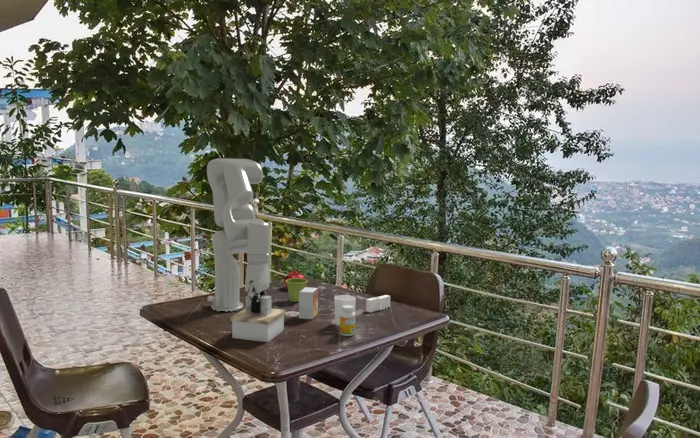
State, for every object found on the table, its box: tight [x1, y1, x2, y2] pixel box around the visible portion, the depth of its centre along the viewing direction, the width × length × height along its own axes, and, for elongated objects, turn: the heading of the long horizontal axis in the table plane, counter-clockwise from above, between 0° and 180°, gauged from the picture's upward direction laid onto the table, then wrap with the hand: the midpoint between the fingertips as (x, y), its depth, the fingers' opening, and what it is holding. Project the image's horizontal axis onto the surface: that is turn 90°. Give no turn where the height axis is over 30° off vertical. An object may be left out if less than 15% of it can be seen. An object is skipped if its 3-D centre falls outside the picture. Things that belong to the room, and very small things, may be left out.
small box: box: [298, 286, 319, 320], centre depth 197 cm, size 8×6×10 cm
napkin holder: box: [365, 294, 391, 313], centre depth 208 cm, size 15×11×6 cm
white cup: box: [333, 294, 357, 327], centre depth 188 cm, size 8×8×10 cm
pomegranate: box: [283, 268, 306, 289], centre depth 241 cm, size 10×10×9 cm
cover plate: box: [229, 294, 287, 325], centre depth 175 cm, size 14×14×7 cm
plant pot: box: [286, 278, 309, 303], centre depth 219 cm, size 9×9×9 cm
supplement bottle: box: [339, 305, 357, 337], centre depth 177 cm, size 5×5×10 cm
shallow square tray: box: [231, 314, 285, 343], centre depth 175 cm, size 13×13×6 cm
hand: (258, 310), depth 175 cm, fingers closed on cover plate, 3 cm apart
